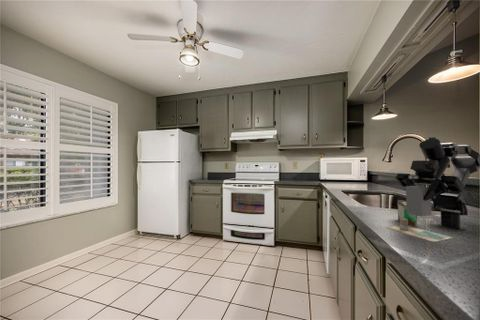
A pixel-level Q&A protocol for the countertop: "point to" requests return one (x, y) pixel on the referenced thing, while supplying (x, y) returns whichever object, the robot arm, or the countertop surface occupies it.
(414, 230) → the stand board
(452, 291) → the countertop surface
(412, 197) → the tall gray pillar
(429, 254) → the countertop surface
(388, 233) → the countertop surface
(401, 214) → the food container
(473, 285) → the countertop surface
